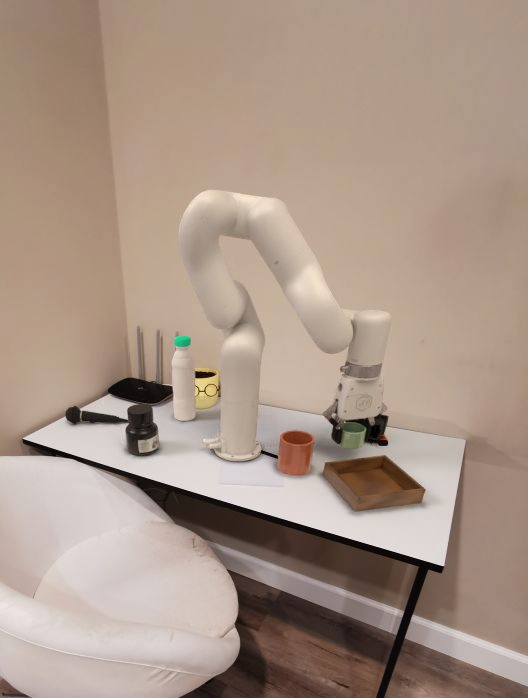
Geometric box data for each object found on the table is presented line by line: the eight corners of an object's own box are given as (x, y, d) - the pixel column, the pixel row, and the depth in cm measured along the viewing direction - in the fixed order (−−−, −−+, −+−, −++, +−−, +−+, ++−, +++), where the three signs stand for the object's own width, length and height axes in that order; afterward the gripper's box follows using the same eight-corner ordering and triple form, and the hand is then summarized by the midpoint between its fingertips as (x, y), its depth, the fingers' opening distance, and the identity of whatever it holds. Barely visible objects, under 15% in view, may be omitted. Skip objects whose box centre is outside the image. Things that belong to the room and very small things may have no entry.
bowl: (343, 451, 104) (346, 434, 102) (330, 439, 110) (333, 423, 107) (367, 448, 105) (371, 431, 103) (354, 436, 110) (357, 420, 108)
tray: (354, 512, 91) (358, 498, 89) (322, 475, 104) (325, 462, 102) (421, 503, 93) (426, 489, 91) (381, 468, 106) (385, 454, 104)
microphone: (129, 428, 138) (67, 422, 139) (130, 410, 137) (68, 404, 137) (126, 431, 133) (62, 424, 134) (128, 412, 132) (63, 405, 132)
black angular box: (384, 434, 120) (390, 412, 117) (379, 445, 115) (384, 422, 112) (347, 427, 125) (351, 405, 121) (340, 437, 120) (345, 414, 117)
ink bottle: (146, 460, 115) (142, 418, 108) (120, 452, 119) (115, 412, 112) (166, 444, 122) (163, 405, 115) (140, 438, 126) (137, 399, 119)
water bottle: (172, 413, 140) (169, 334, 126) (194, 411, 140) (193, 332, 126) (174, 422, 134) (171, 340, 120) (197, 420, 134) (196, 339, 120)
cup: (284, 478, 104) (287, 447, 99) (272, 462, 111) (275, 432, 106) (315, 474, 105) (320, 443, 100) (302, 458, 111) (306, 428, 107)
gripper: (334, 378, 93) (323, 451, 103) (409, 370, 95) (391, 442, 104) (318, 368, 100) (309, 437, 109) (389, 360, 101) (374, 429, 111)
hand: (349, 439), depth 107 cm, fingers closed on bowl, 6 cm apart
